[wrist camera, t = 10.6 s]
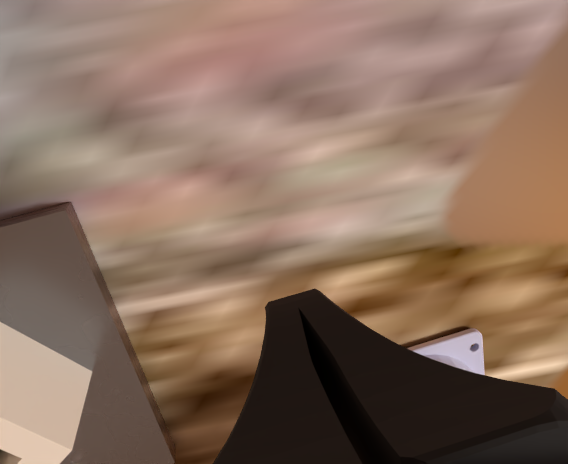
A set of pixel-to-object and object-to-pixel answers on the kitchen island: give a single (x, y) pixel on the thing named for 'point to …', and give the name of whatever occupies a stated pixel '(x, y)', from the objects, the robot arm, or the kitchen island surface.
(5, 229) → the flat plate
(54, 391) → the block
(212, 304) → the kitchen island surface
